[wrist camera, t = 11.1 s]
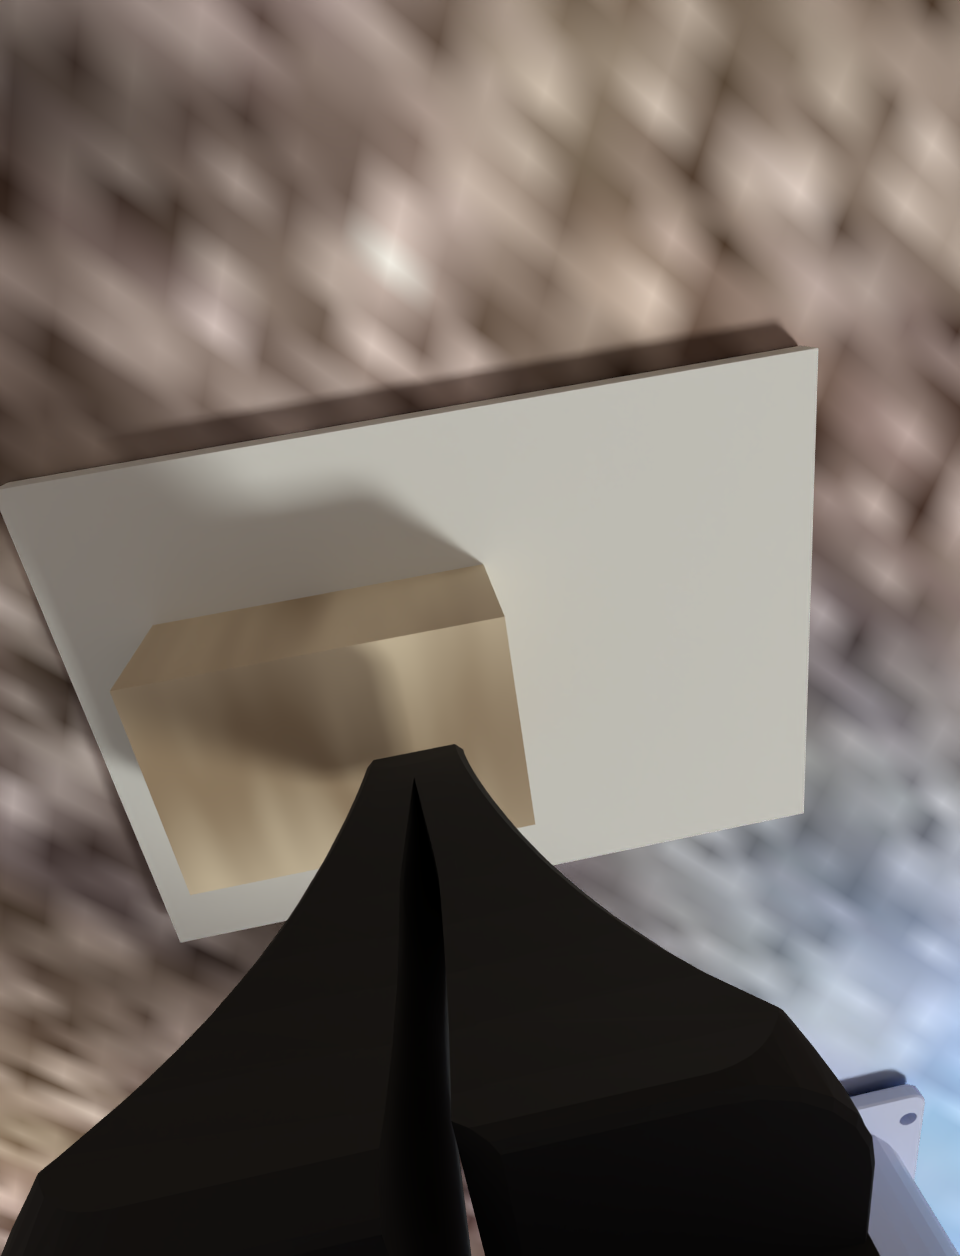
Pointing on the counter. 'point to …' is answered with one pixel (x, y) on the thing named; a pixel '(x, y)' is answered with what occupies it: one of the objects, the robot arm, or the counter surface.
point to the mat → (519, 573)
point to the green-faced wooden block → (315, 716)
